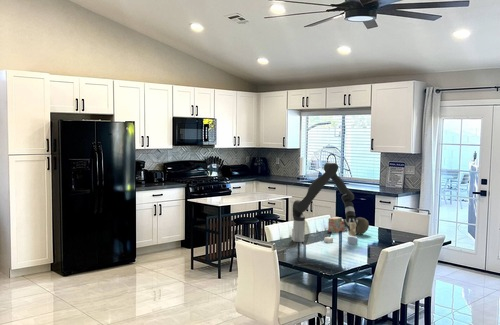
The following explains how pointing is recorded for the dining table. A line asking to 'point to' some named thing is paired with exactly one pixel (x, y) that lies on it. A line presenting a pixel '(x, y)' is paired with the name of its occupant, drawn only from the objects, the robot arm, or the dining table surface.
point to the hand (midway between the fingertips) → (352, 230)
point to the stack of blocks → (336, 224)
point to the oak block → (352, 228)
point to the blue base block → (352, 240)
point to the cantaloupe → (362, 225)
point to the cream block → (328, 239)
